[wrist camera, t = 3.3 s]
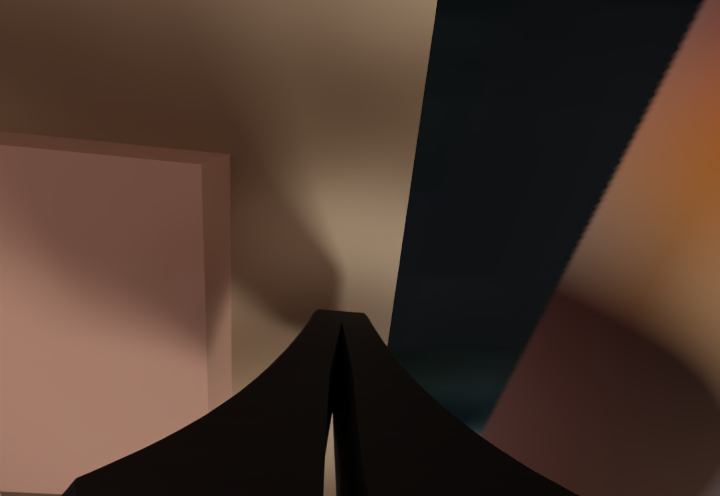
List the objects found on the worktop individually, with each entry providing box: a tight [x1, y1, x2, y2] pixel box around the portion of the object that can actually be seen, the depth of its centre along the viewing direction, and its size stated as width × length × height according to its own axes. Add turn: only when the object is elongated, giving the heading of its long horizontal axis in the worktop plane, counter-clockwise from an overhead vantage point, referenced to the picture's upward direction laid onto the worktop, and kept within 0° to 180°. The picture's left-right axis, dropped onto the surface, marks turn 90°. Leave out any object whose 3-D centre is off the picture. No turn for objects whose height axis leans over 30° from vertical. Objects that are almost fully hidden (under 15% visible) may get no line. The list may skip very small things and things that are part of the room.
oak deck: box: [0, 0, 437, 496], centre depth 13 cm, size 20×12×4 cm, turn 174°
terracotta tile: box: [0, 131, 232, 494], centre depth 10 cm, size 9×6×2 cm, turn 174°
